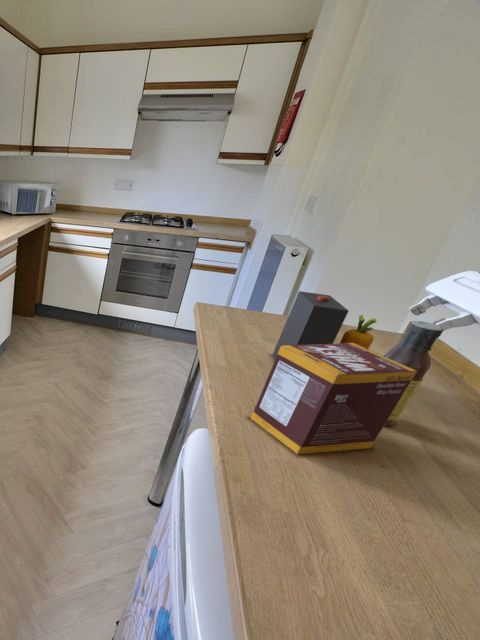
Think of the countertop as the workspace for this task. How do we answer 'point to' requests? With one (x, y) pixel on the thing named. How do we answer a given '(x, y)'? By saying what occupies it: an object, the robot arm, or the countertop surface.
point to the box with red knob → (312, 321)
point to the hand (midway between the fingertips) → (423, 319)
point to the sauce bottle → (413, 358)
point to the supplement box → (329, 396)
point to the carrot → (360, 334)
